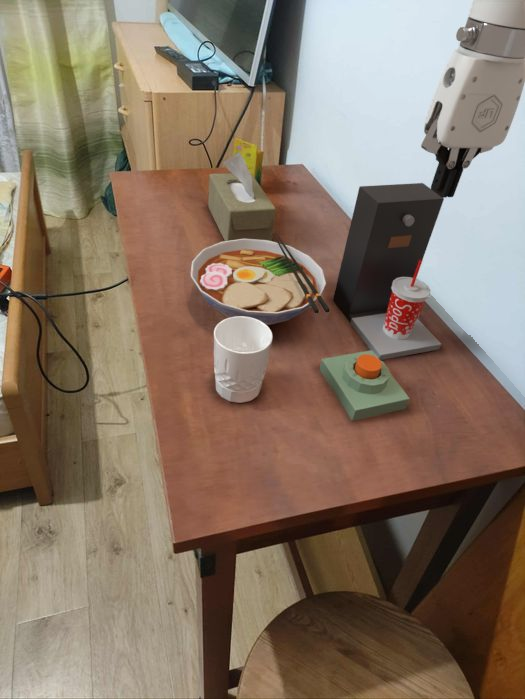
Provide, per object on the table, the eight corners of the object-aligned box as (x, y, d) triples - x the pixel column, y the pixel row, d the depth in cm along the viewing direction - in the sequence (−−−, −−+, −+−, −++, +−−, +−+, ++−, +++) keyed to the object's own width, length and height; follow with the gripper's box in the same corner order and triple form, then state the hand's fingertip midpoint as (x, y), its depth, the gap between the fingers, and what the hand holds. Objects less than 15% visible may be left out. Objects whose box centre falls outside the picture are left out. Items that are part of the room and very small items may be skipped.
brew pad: (405, 409, 75) (413, 389, 72) (351, 421, 72) (358, 401, 69) (369, 360, 82) (375, 341, 80) (319, 369, 79) (323, 349, 77)
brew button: (383, 377, 74) (386, 368, 73) (361, 381, 73) (364, 372, 72) (371, 361, 77) (374, 352, 75) (350, 365, 75) (352, 356, 74)
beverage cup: (370, 326, 87) (392, 255, 78) (394, 316, 90) (418, 246, 81) (397, 346, 84) (423, 274, 75) (421, 335, 87) (449, 264, 78)
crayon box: (260, 191, 128) (265, 143, 120) (253, 194, 126) (257, 146, 119) (238, 181, 131) (241, 134, 124) (230, 184, 129) (233, 137, 122)
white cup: (275, 394, 74) (284, 341, 68) (229, 414, 70) (233, 360, 64) (245, 362, 79) (251, 310, 72) (201, 379, 75) (203, 325, 69)
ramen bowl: (180, 272, 96) (180, 233, 91) (294, 266, 102) (301, 229, 97) (202, 360, 78) (203, 318, 73) (339, 347, 84) (350, 307, 79)
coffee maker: (439, 349, 86) (490, 232, 72) (378, 360, 82) (419, 239, 68) (387, 293, 98) (422, 182, 84) (332, 300, 94) (359, 186, 80)
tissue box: (207, 207, 118) (210, 137, 108) (248, 205, 121) (254, 137, 111) (227, 247, 105) (232, 172, 95) (272, 245, 108) (281, 171, 97)
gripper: (462, 46, 53) (410, 208, 65) (567, 52, 58) (501, 202, 70) (422, 30, 59) (381, 184, 71) (522, 37, 63) (468, 180, 75)
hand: (441, 193), depth 70 cm, fingers closed
